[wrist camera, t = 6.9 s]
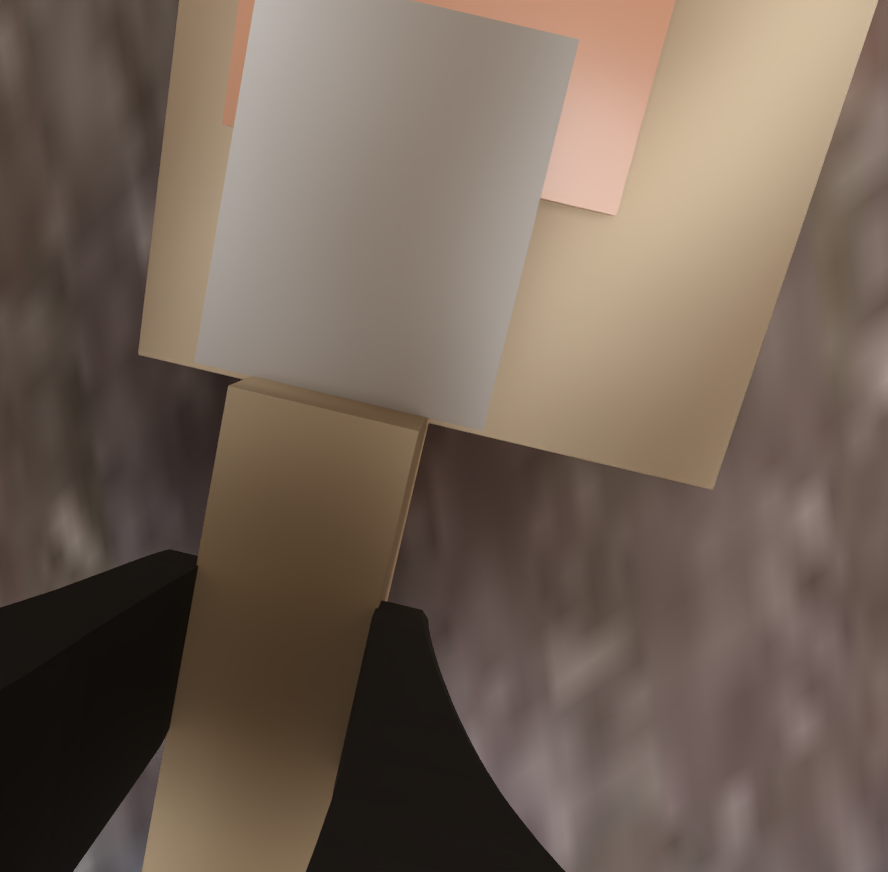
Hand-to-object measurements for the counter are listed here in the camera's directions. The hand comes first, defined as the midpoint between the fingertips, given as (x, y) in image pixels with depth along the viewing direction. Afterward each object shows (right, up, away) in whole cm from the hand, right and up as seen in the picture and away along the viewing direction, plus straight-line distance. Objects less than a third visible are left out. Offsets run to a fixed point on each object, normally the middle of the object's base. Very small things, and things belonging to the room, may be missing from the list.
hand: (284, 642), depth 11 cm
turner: (0, +2, +2) cm, 3 cm away
